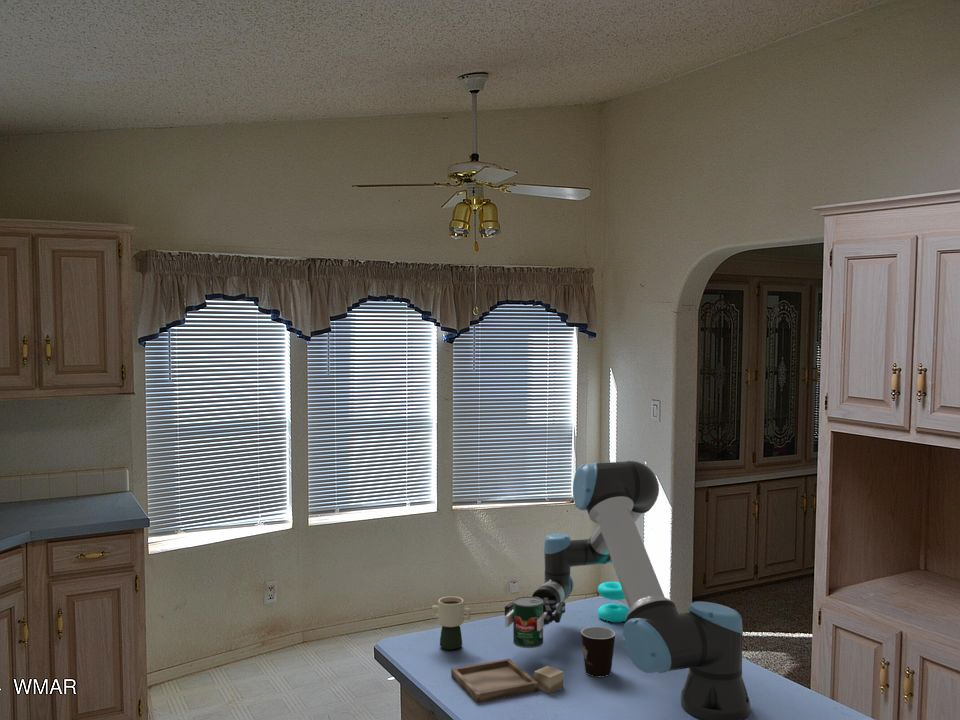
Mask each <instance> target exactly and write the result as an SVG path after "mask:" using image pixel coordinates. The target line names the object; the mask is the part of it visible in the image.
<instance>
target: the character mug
mask: <svg viewBox="0 0 960 720" xmlns="http://www.w3.org/2000/svg"><path fill="white" fill-rule="evenodd" d="M464 603H465V600H464V599H463V598H462V597H460V596H452V595H451V596H443V597H440V598H439V599H438V601H437V605H435V604H434V605H432V606H431V617H433V618H437V621H438V624H439V625H440V626H442V627H441V631H440V637H439V646H440V647H441V648H443V649H445V650H456V649H458V648H460V647H462V646H463V636H462V629H461V626H462V624H464V620H465V621H470V620H471V608H470V607H464V605H465V604H464ZM436 610H437V611H438V612H437V613H436ZM465 612H466V615H465Z"/></svg>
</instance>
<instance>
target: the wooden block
mask: <svg viewBox="0 0 960 720" xmlns="http://www.w3.org/2000/svg"><path fill="white" fill-rule="evenodd" d="M564 674H565V673H564V671H563V670H560V669H558V668H555V667H554V666H553V667H552V666H550V665H546V666H543V667H541V668H538V669H537V670H534V673H533V675H534V677H533V679H534V680H535V681H537V682H538V690H541V691H542V692H544V693H548V694H553V693H555V692H557V691H559V690H561V689H563V688H564V679H565V678H564ZM562 687H563V688H562ZM560 688H561V689H560ZM558 689H559V690H558ZM556 690H557V691H556ZM554 691H555V692H554Z"/></svg>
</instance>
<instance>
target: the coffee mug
mask: <svg viewBox="0 0 960 720" xmlns="http://www.w3.org/2000/svg"><path fill="white" fill-rule="evenodd" d="M580 635H581V645H582V653H583V661H584V662H583V663H584V672H585V671H586V672H585V674H587V673H588V674H590V675H593V676H606V675H609V674H610V673H611V672H612V665H613V657H614V649H615V641H616V632H615V631H614V630H613V629H610V628H608V627H603V626H590V627H585V628H583V629H581V630H580ZM588 674H587V675H588ZM590 675H589V676H590ZM610 675H611V674H610ZM610 675H609V676H610ZM593 676H592V677H593ZM606 677H607V676H606Z"/></svg>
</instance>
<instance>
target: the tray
mask: <svg viewBox="0 0 960 720" xmlns="http://www.w3.org/2000/svg"><path fill="white" fill-rule="evenodd" d="M450 669H451V673H450V675H451V678H452V679H453V680H454V681H455V682H456V683H457V684H458V685H459V686H460V687H461V689H463V690H464V692H466V694H467V695H468V696H469V697H470V698H471V699H473V701H474V702H475V703H476V704H478V703H479V704H480V703H484V702H488V701H493V700H498V699H503V698H504V699H505V698H508V697H513V696H520V695H524V694H530V693H534V692H538V691H539V689H538V682H537V681H535V680H534V677H532V676H530V675H529V674H528V672H526V671H524V669H522V668H521V667H520V666H519V665H517V663H515V662H514V661H513V660H511V659H510V658H506V659H499V660H493V661H487V662H482V663H477V664H475V663H474V664H470V665H465V666H459V667H453V668H450Z"/></svg>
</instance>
